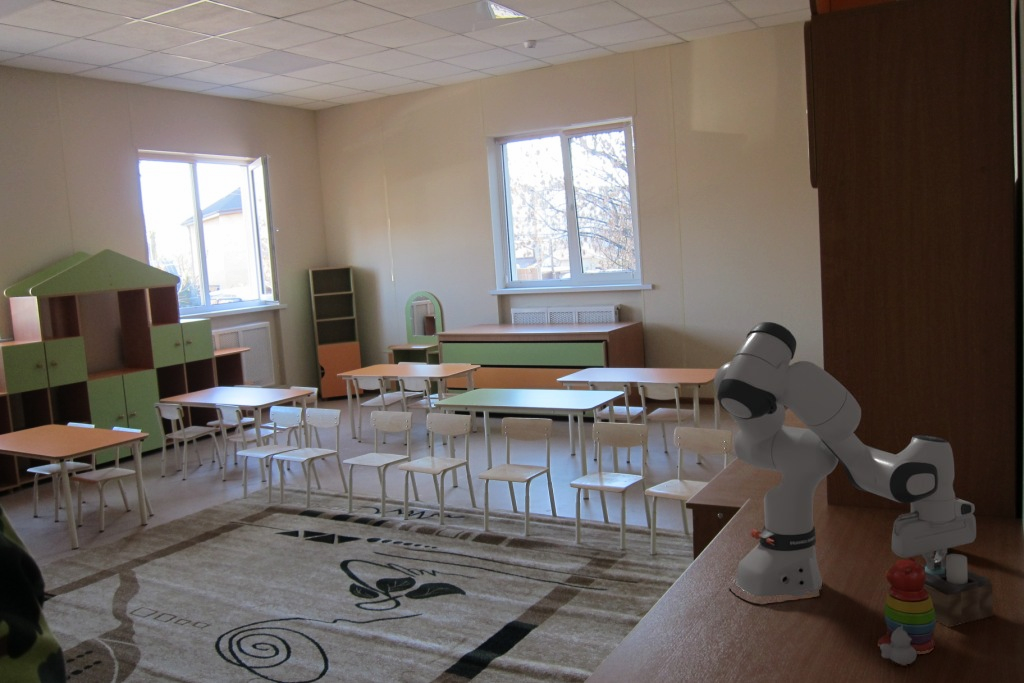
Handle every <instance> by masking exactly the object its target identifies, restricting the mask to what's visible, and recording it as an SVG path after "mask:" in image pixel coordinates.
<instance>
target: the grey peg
mask: <svg viewBox="0 0 1024 683" xmlns="http://www.w3.org/2000/svg"><path fill="white" fill-rule="evenodd" d="M945 561H946V575H947V582H949V583H952V584H954V585H956V586H959V585H963V584H967V583H968V576H967V570H968V557H967V556H966V555H963V554H960V553H959V554H958V553H949V554H946V556H945Z"/></svg>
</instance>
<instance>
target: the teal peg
mask: <svg viewBox="0 0 1024 683" xmlns="http://www.w3.org/2000/svg"><path fill="white" fill-rule="evenodd" d="M925 572H927V573H929V574H931V575H934V576H936V575H940V574H944V573H945V569H944V568H939V569H935V570H929V569H927V567H925Z"/></svg>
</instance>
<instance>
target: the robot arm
mask: <svg viewBox="0 0 1024 683" xmlns="http://www.w3.org/2000/svg"><path fill="white" fill-rule="evenodd" d="M796 351H797V340H796V337H795V336H794V335H793V334H792V332H791V331H790V330H789V329H788V328H786V327H785V326H783V325H781V324H778V323H777V322H772V321H762V322H759V323H757V324H756V325H754V326H753V327H752V328H751V330H749V332H748V333H747V334H746V338H745V339H744V340H743V342H742V343H741V345H740V346H739V348H738V349H737V351H736V352H735V353H734V356H732V360H730V361H728V362H726V363H724V364H723V365H721V366H720V367H719V368H718V369H717V371H716V373H715V375H714V378H713V385H714V389H715V391H716V394H717V395H716V398H717V401H718V404H720V406H721V407H722V408H723V410H725V411H726V412H728V414H729V416H730V417H731V419H732V420H733V421H734V423H735V424H736V425H737V426H738V428H739V430H738V431H737V433H736V435H735V438H734V441H733V442H734V443H733V445H734V446H733V447H734V451H735V455H736V457H737V458H738V460H739V461H740V462H742V463H744V464H747V465H749V466H752V467H754V468H757V469H762V470H769V471H772V472H773V471H774V472H779V473H781V483H780V484H777V485H775V486H774V487H772V488H769V490H768V491H767V492H766V493H765V495H764V498H763V511H764V526H763V528H762V531H759V530H757V528H756V529H755V528H754V529H751V531H750V536H751V537H752V538H754V539H755V540H758V541H759V542H758V544H757V545H756V546H755V547H753V549H751V551H749V553H747V555H745V556H744V557H743V558H741V560H740V561H738V562H739V563H738V565H737V570H736V571H737V572H736V578H733V579H734V580H733V579H732V580H733V582H732V583H734V582H735V580H737V581H736V583H735V584H736V585H737V586H738V587H740V588H741V589H742V590H743V591H746V592H747V593H749V594H752V595H755V596H762V597H763V596H773V595H774V596H776V595H784V594H785V595H786V594H787V595H792V596H804V595H812V594H818V593H819V594H820V591H819V587H820V586H821V585H822V581H823V579H822V577H821V573H820V568H819V565H818V561H817V555H816V553H817V552H816V547H815V546H816V543H817V542H816V541H817V540H816V539H817V536H816V527H815V526H814V520H813V517H814V515H813V514H814V512H813V511H814V507H813V506H814V505H813V504H814V497H815V496H814V495H815V493H816V490H817V487H818V485H819V483H820V482H821V481H822V480H823V479H824V478H825V477H826V476H828V475H830V474H831V473H833V472H834V470H835V469H836V467H837V466H838V462H840V464H841V465H842V467H843V469H844V472H845V475H846V476H847V479H848V481H849V482H850V485H852V486H853V487H854V488H856V489H857V490H860V491H863V492H867V493H872V494H874V495H877V496H879V497H882V498H885V499H889V500H891V501H893V502H897V503H900V504H910V512H908V513H903V514H900V515H898V517H897V518H896V519H895V520H894V522H893V527H892V535H891V550H892V552H893V554H895V555H896V556H899V557H900V558H904V559H909V557H912V558H913V557H916V556H917V557H918V556H920V555H921V556H922V557H923V559H924V560H925V563H926V564H925V565H926V567H927V569H929V570H935V569H939V568H943V560H944V561H945V559H946V556H947V555H948V553H947V548H950V549H951V548H954V547H959V546H963V545H967V544H972V543H974V542H975V539H976V538H977V523H976V522H977V521H976V517H975V515H974V512H975V510H976V509H975V508H976V507H975V504H974V503H972V502H970V501H967V500H963V499H961V498H958V497H956V493H955V490H954V486H953V484H954V481H955V460H954V454H953V449H952V446H951V443H950V442H949V441H947V440H946V439H945V438H941V437H937V436H931V435H924V434H917V435H914V436H912V438H911V440H910V443H909V444H908V445H907V446H906V447H905V448H904V449H902V450H901V451H900V452H898V453H896V454H894V453H891V452H888V451H884V450H881V449H878V448H877V447H873V446H870V445H868V444H867V445H866V444H864V443H863V442H862V441H861V440H860V439H859V438H858V436H857V435H856V434H855V433H854V432H855V431H856V430H857V428H858V426H859V425H860V422H861V418H862V408H861V406H860V404H859V403H858V400H856V398H855V397H854V396H853V394H851V392H850V391H849V390H848V389H847V388H846V387H845V386H843V384H842V383H840V381H838V380H837V379H836V378H835V377H834V376H832V375H831V374H830V373H829V372H827V371H826V370H824V369H823V368H822V367H820V366H819V365H817V364H815V363H813V362H811V361H808V360H801V361H796V362H793V363H791V361H792V360H793V359H794V356H795V354H796ZM790 363H791V364H790ZM785 407H786V408H788V409H789V410H790V411H791V412H792V413H793V414H794V415H795V416H796V417H797V418H798V419H799V420H800V421H801V423H803V424H804V425H805V426H806V427H807V428H804V427H797V426H796V427H795V426H789V425H784V424H785V422H786V408H785ZM934 551H937V552H936V553H934ZM934 554H935V555H934ZM933 556H934V558H933ZM806 591H810V592H812V593H810V594H808V593H805V592H806Z"/></svg>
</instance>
